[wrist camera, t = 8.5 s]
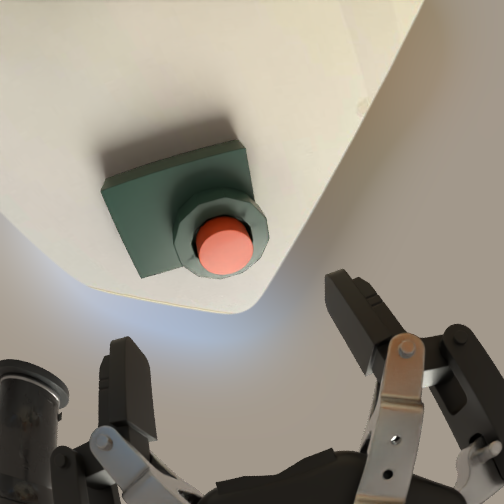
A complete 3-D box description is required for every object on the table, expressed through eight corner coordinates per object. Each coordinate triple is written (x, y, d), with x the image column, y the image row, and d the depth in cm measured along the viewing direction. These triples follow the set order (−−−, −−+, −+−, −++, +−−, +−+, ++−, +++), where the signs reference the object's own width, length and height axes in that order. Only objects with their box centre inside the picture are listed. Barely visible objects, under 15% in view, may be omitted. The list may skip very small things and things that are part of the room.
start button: (203, 265, 22) (206, 281, 21) (189, 224, 20) (192, 239, 18) (250, 251, 22) (257, 266, 21) (242, 209, 20) (248, 222, 19)
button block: (145, 268, 25) (144, 301, 22) (105, 178, 20) (95, 203, 16) (258, 235, 26) (273, 264, 23) (241, 138, 21) (256, 154, 18)
